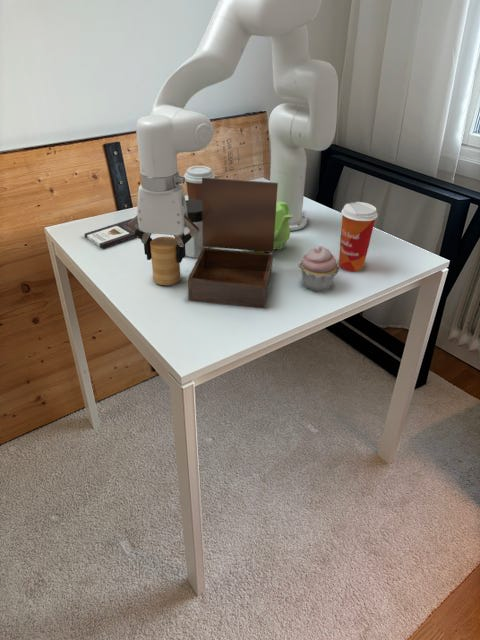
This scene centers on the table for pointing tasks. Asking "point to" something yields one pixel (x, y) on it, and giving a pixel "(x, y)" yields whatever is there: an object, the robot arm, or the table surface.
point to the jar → (195, 215)
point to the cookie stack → (165, 260)
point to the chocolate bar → (111, 234)
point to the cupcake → (318, 269)
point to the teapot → (281, 226)
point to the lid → (239, 214)
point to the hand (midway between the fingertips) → (165, 258)
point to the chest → (231, 277)
